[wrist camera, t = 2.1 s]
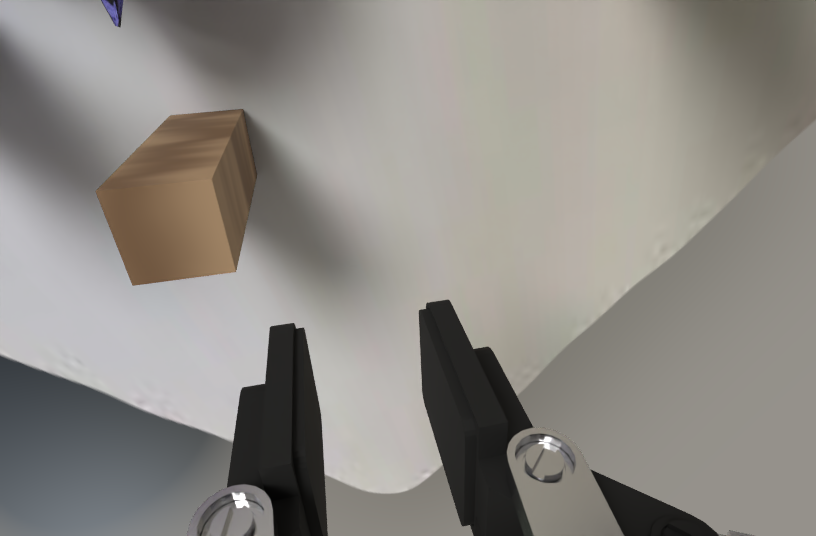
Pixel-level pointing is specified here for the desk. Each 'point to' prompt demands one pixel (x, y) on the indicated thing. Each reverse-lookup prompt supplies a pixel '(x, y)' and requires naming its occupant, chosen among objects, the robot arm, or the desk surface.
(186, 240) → the walnut block
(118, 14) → the decorative ornament
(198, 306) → the desk surface
